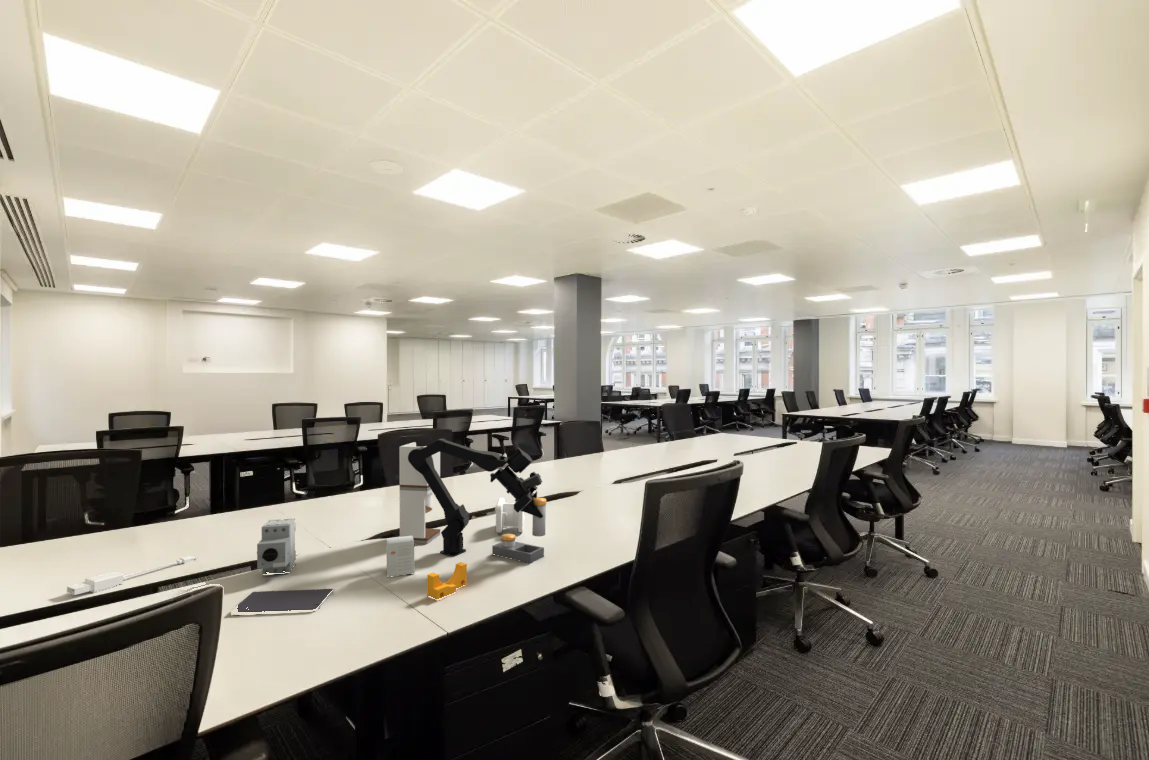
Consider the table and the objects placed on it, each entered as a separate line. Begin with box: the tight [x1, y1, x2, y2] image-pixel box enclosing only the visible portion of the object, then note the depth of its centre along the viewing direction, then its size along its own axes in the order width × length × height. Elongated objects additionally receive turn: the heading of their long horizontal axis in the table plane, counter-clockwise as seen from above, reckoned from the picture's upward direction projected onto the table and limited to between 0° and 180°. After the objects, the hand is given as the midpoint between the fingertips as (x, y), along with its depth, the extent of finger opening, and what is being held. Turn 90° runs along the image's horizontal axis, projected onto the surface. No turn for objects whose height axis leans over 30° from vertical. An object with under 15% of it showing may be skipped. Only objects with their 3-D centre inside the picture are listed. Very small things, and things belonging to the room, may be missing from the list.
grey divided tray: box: [491, 533, 545, 564], centre depth 179 cm, size 8×16×6 cm, turn 59°
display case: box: [398, 441, 441, 545], centre depth 196 cm, size 11×11×35 cm
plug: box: [531, 497, 547, 537], centre depth 180 cm, size 5×5×12 cm
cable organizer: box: [494, 497, 526, 534], centre depth 208 cm, size 15×11×12 cm
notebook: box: [237, 588, 334, 612], centre depth 142 cm, size 13×2×21 cm
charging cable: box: [66, 555, 199, 596], centre depth 160 cm, size 5×32×3 cm, turn 156°
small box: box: [386, 536, 416, 578], centre depth 163 cm, size 8×6×10 cm
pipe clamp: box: [426, 561, 468, 599], centre depth 150 cm, size 12×4×6 cm, turn 143°
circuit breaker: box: [256, 517, 297, 575], centre depth 162 cm, size 8×14×15 cm, turn 15°
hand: (543, 515), depth 180 cm, fingers closed on plug, 4 cm apart
